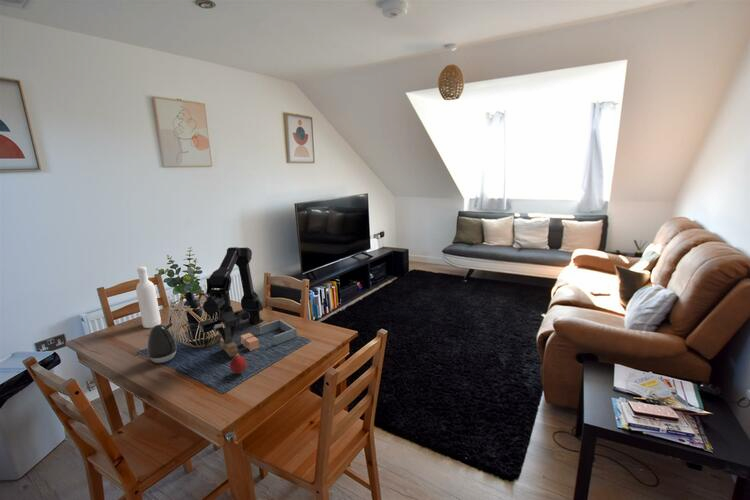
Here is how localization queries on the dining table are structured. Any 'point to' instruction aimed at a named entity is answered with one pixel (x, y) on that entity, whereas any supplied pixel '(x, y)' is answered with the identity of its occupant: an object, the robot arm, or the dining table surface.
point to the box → (280, 338)
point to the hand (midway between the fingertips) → (227, 339)
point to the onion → (238, 364)
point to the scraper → (228, 343)
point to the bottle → (147, 300)
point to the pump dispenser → (161, 344)
